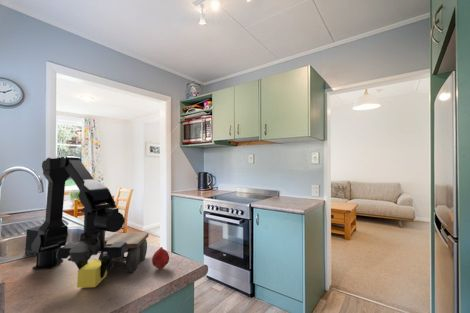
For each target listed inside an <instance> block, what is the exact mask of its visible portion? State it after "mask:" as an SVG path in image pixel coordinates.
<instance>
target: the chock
mask: <svg viewBox="0 0 470 313" xmlns="http://www.w3.org/2000/svg"><path fill="white" fill-rule="evenodd" d="M100 271H101V261H100V260H98V259H91V260H89V261H88V263H87V264H86V265H84V266H83V267H82V268H81V269H78V270H77V284H76V285H77V286H76V289H77V288H79V289H80V288H81V289H82V288H96V287H97V286H98V285H99V284H100V283H101V282H102V281H103V280H104V279H105V278H106V277H107V276H108V272H107V270H106V272H105V274H104V276H103V277H102V278H101V277H100Z"/></svg>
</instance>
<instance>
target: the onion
mask: <svg viewBox="0 0 470 313" xmlns="http://www.w3.org/2000/svg"><path fill="white" fill-rule="evenodd" d="M151 262H152V265H153V267H155V268H156V269H158V270H159V271H161V270H163V269H164V268H165V267H166V266H167V265H168V263H169V262H170V255H169V252H167V250H166V249H164V248H163V246H161V247H159V249H157V250H156V251H155V252H154V254H153V256H152V257H151Z"/></svg>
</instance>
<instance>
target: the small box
mask: <svg viewBox="0 0 470 313" xmlns="http://www.w3.org/2000/svg"><path fill="white" fill-rule="evenodd" d="M41 226H42V225H38V226H34V227H30V228H26V229H25V230H26V232H25V233H26V234H25V235H26V236H25V249H24V250H25V252H24V255H25V254H27V256H33V257H37V253H36V252H34V251H32V247H31V245H32V243H33V241H34V240H35V238H36V237H37V236H38V230H39V228H40V227H41Z"/></svg>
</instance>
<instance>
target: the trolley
mask: <svg viewBox="0 0 470 313" xmlns="http://www.w3.org/2000/svg"><path fill="white" fill-rule="evenodd" d="M148 237H149V232H114V233H113V234H112V235H110V236H109V237H107V238H105V240H107V244H105V246H111V245H112V244H114V243H115V242H126V243H127V244H128V250H127V251H126V252H125V253H127V255H126V256H125V253H124V254H123V255H122V256H121V257H113V258H112V259H111V261H110V263H109V265H108V267H107V273H110V272H111V270H112V268H113V267H114V263H119V262H125V269H126V272H136V271H137V270H138V268H139V264H140V262H143V261H144V260H145V258H146V256H147V252H148V242H147V241H148V240H147V238H148ZM103 256H104V254H103V253H99V256H98V259H97V260H100V258H101V257H103Z"/></svg>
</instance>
